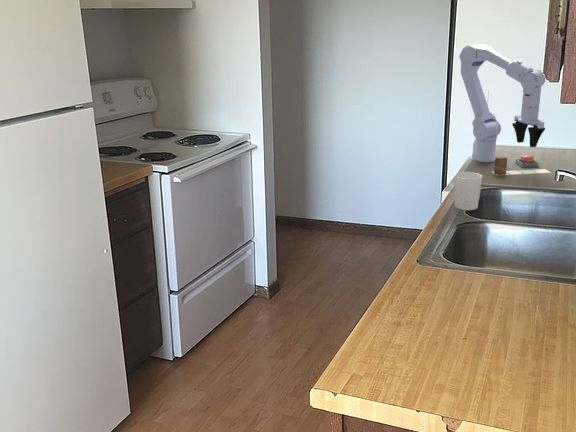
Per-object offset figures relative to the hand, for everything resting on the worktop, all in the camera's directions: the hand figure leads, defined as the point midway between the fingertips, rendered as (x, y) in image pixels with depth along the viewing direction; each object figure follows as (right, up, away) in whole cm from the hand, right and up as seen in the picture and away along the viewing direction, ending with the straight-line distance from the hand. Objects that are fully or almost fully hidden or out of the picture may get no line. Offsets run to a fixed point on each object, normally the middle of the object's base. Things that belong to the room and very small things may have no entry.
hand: (526, 144), depth 221 cm
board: (-3, -11, -2) cm, 12 cm away
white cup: (-31, -23, -33) cm, 51 cm away
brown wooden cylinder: (-11, -10, -3) cm, 15 cm away
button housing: (+2, -8, +6) cm, 10 cm away
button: (+2, -6, +6) cm, 9 cm away
